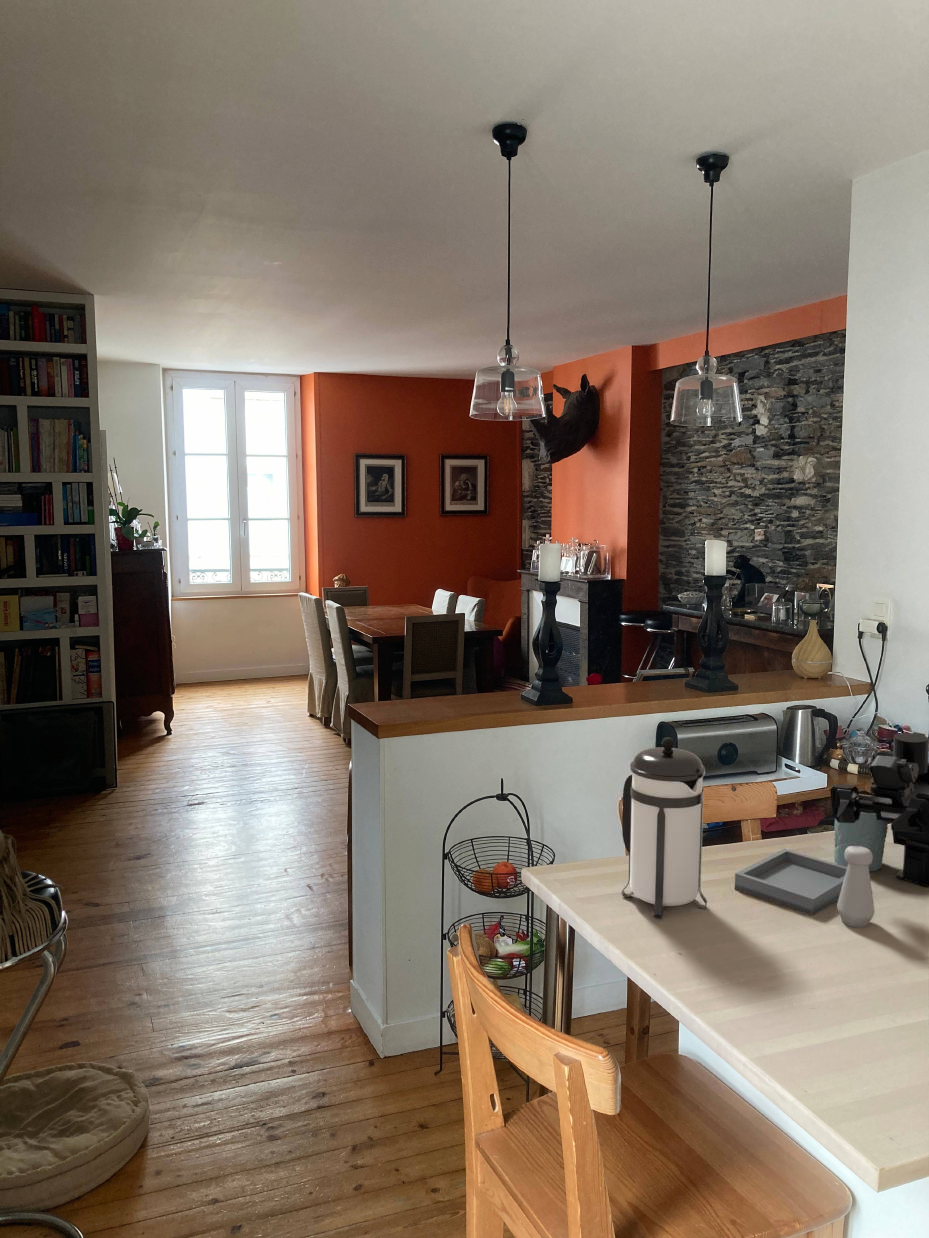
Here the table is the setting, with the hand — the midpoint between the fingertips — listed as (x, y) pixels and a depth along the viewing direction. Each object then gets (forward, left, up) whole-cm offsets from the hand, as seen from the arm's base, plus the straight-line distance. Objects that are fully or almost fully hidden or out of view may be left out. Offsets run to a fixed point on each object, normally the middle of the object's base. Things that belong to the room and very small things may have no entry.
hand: (864, 823), depth 153 cm
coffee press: (+19, -28, -17) cm, 38 cm away
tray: (-4, -14, -17) cm, 22 cm away
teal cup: (-24, -11, -17) cm, 32 cm away
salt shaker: (+2, 0, -17) cm, 17 cm away
